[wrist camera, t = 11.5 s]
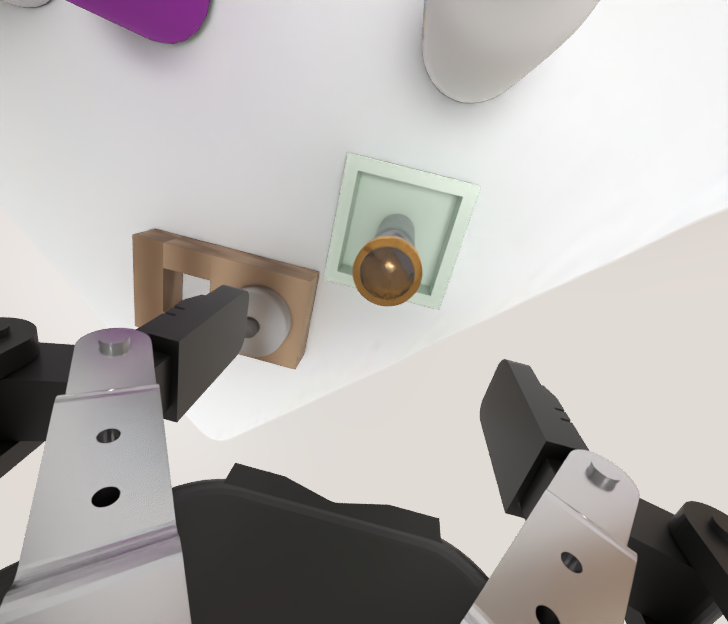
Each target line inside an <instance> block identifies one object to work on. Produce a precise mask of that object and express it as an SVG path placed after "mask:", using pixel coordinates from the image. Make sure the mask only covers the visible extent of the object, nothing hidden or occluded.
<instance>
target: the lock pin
mask: <svg viewBox="0 0 728 624" xmlns="http://www.w3.org/2000/svg"><path fill="white" fill-rule="evenodd" d="M353 280H354V283H355V286H356V288H357V290H358V291H359V292H360V294H361V295H362V296H363V297H364V298H366V299H367V300H368V301H370V302H372V303H374V304H377V305H381V306H395V305H399V304H402V303H404V302H406V301H407V300H409V299H410V298H411V297H412V296H413V295H414V294H415V293H416V292H417V290H418V288H419V287H420V284H421V281H422V262H421V258H420V255H419V253H418V251H417V250H416V248H415V230H414V225H413V223H412V221H411V220H410V219H409V218H408V217H407V216H405V215H402V214H391V215H389V216H387V217H386V218H385V219H384V220H383V221H382V222H381V224H380V226H379V228H378V230H377V233H376V235H375V237H374V238H373V239H372V240H370V241H368V242H367V243H366V244H365V245H364V246H363V247H362V248H361V250H360V251H359V253H358V255H357V256H356V259H355V261H354V264H353Z"/></svg>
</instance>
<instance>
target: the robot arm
mask: <svg viewBox="0 0 728 624" xmlns="http://www.w3.org/2000/svg"><path fill="white" fill-rule="evenodd" d="M2 1H5V2H8V3H10V4H13V5H17V6H20V7H37V6H40V5H43V4H46V3H47V2H48V1H50V0H2ZM248 305H249V293H248V291H246V290H243V289H239V288H235V287H231V286H227V285H221V286H220V287H218V288H217V289H215V290H213V291H212V292H210V293H209V294H207V295H206V296H205V295H199V296H195V297H192V298H188V299H185V300H183V301H182V302H180V303H179V304H177V305H175V307H174V308H173V307H172V308H170V309H169V310H167V311H165V314H164V313H162V314H160V315H159V316H157V317H156V318H154V319H152V320H151V321H149V322H147V323H146V324H144V325H142V326H141V327H139V328H138V329H136V330H134V329H128V328H109V329H103V330H98V331H95V332H92V333H89V334H87V335H85V336H83V337H81V338H80V339H79V340H78V341H77V342H76V344H75V345H67V344H54V343H40V342H38V336H37V329H36V326H35V325H34V324H33V323H31V322H29V321H26V320H23V319H18V318H4V317H0V478H1V477H2V476H4V475H5V474H6V473H7V472H8V471H10V470H11V469H12V468H13V467H14V466H16V465H17V464H18V463H19V462H20V461H22V460H23V459H24V458H25V457H26V456H27V455H29V454H30V453H31V452H32V451H34V450H35V449H36V448H37V447H38V446H40V445H41V444H42V443H43V442H44V441H46V443H45V447H44V451H43V456H42V461H41V465H40V470H39V474H38V479H37V483H36V488H35V492H34V497H33V502H32V506H31V511H30V515H29V520H28V524H27V529H26V533H25V538H24V542H23V547H22V551H21V556H20V560H19V561H18V562H16V563H14V564H12V565H9V566H7V567H5V568H3V569H1V570H0V624H623V623H624V619H625V621H626V623H627V624H713V623H714V622H715V621H716V620H717V619H719V618H720V617H721V616H722V615H724V616H725V618H726V619H727V621H728V515H726V514H724V513H723V512H721V511H719V510H717V509H715V508H713V507H711V506H708V505H706V504H703V503H699V502H695V501H690V502H686V503H685V504H684V505H683V506H682V507H681V508H680V510H679V511H678V512H677V513H676V514H675V515H674V514H672V513H670V512H668V511H665V510H664V509H661V508H659V507H657V506H655V505H653V504H651V503H649V502H647V501H645V500H643V499H641V498H639V495H640V494H639V491H638V488H637V486H636V485H635V483H634V482H633V480H632V479H631V478H630V477H629V476H628V475H627V474H626V473H625V472H624V471H623V470H622V469H621V468H619V467H618V466H617V465H615V464H614V463H612V462H611V461H609V460H608V459H606V458H604V457H602V456H600V455H598V454H596V453H593V452H590V451H589V449H588V448H587V446H586V444H585V443H584V441H583V440H582V438H581V436H580V435H579V433H578V432H577V430H576V428H575V427H574V425H573V423H570V419H569V417H568V415H567V414H566V412H564V409H563V407H562V406H561V404H560V403H559V401H558V399H557V398H556V397H555V396H554V395H553V394H552V393H551V392H550V391H549V390H547V389H546V388H545V387H544V386H542V385H541V384H540V383H539V381H538V379H537V377H536V375H535V374H534V372H533V370H532V369H531V367H530V366H529V365H525V364H521V363H517V362H513V361H510V360H506V359H504V360H502V361H501V362H500V363H499V365H498V367H497V369H496V371H495V374H494V376H493V378H492V380H491V383H490V385H489V387H488V389H487V391H486V394H485V396H484V398H483V400H482V403H481V408H480V421H481V425H482V429H483V432H484V436H485V440H486V444H487V447H488V451H489V455H490V458H491V462H492V466H493V470H494V473H495V477H496V481H497V484H498V488H499V492H500V496H501V499H502V503H503V507H504V510H505V513H507V514H511V515H515V516H518V517H522V518H525V520H526V522H525V523H524V525H523V527H522V528H521V530H520V531H519V533H518V534H517V536H516V538H515V539H514V541H513V542H512V544H511V546H510V547H509V549H508V550H507V552H506V553H505V555H504V557H503V558H502V560H501V561H500V563H499V564H498V566H497V567H496V569H495V571H494V572H493V574H492V575H491V577H490V578H488V577H487V576H486V575H485V573H484V572H483V571H482V570H481V569H480V568H479V567H478V566H477V565H476V564H475V563H474V562H473V561H472V560H471V559H470V558H468V557H467V556H466V555H465V554H463V553H462V552H461V551H460V550H459V549H457V548H455V547H454V546H453V545H451V544H450V543H448V542H447V541H445V540H443V539H441V537H440V523H439V518H435V517H431V516H427V515H424V514H421V513H416V512H413V511H410V510H406V509H402V508H399V507H395V506H391V505H380V504H379V505H378V504H349V503H348V504H347V503H335V502H332V501H329V500H327V499H326V498H324V497H322V496H320V495H318V494H316V493H315V492H313V491H311V490H309V489H307V488H305V487H303V486H302V485H300V484H298V483H296V482H294V481H292V480H290V479H289V478H287V477H285V476H281V475H277V474H274V473H270V472H266V471H263V470H259V469H256V468H252V467H248V466H245V465H241V464H237V463H235V464H234V466H233V468H232V469H231V471H230V473H229V475H228V476H227V478H226V479H211V480H202V481H196V482H191V483H187V484H183V485H179V486H176V487H173V488H172V486H171V478H170V470H169V462H168V454H167V445H166V437H165V429H164V420H163V419H166V420H170V421H173V422H178V421H179V419H180V418H181V417H182V416H183V415H184V414H185V413H186V412H187V411H188V409H189V408H190V407H191V406H192V405H193V404H194V403H195V402H196V401H197V399H198V398H199V397H200V396H201V395H202V394H203V393H204V392H205V390H206V389H207V388H208V387H209V386H210V385H211V384H212V383H213V382H214V380H215V379H216V378H217V377H218V376H219V375H220V374H221V373H222V372H223V370H224V369H225V368H226V367H227V366H228V365H229V364H230V363H231V361H232V360H233V359H234V358H235V357H236V356H237V355H238V353H239V352H240V350H241V348H242V345H243V343H244V339H245V332H246V323H247V314H248Z"/></svg>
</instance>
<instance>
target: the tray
mask: <svg viewBox="0 0 728 624" xmlns="http://www.w3.org/2000/svg"><path fill="white" fill-rule="evenodd" d="M480 188H481V186H479V185H476V184H472V183H468V182H464V181H460V180H456V179H452V178H448V177H444V176H440V175H436V174H432V173H428V172H425V171H421V170H417V169H413V168H409V167H405V166H401V165H397V164H393V163H389V162H385V161H381V160H377V159H373V158H369V157H365V156H361V155H357V154H352V153H347V159H346V164H345V169H344V174H343V179H342V184H341V190H340V195H339V200H338V205H337V210H336V215H335V221H334V226H333V231H332V236H331V241H330V246H329V252H328V257H327V262H326V267H325V272H324V278H323V280H327V281H331V282H334V283H338V284H342V285H346V286H350V287H353V288H356V286H355V283H354V280H353V264H354V261H355V259H356V256H357V255H358V253H359V251H360V250H361V248H362V247H363V246H364V245H365V244H366V243H367V242H368V241H370V240H372V239H373V238H374V237H375V235H376V233H377V230H378V228H379V226H380V224H381V222H382V221H383V220H384V219H385V218H386V217H387V216H389V215H391V214H402V215H405V216H407V217H408V218H409V219H410V220H411V221H412V223H413V225H414V230H415V248H416V250H417V251H418V253H419V255H420V258H421V262H422V281H421V284H420V287H419V288H418V290H417V292H416V293H415V294H414V295H413V296H412V297H411V298H410V299H409V300H407V302H410V303H414V304H418V305H422V306H426V307H429V308H433V309H437V310H439V308H440V305H441V303H442V300H443V297H444V294H445V291H446V288H447V285H448V282H449V279H450V276H451V273H452V270H453V267H454V265H455V262H456V259H457V256H458V253H459V250H460V247H461V244H462V241H463V238H464V235H465V232H466V229H467V226H468V224H469V221H470V218H471V215H472V212H473V209H474V206H475V203H476V200H477V197H478V194H479V191H480Z"/></svg>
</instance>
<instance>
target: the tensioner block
mask: <svg viewBox="0 0 728 624" xmlns="http://www.w3.org/2000/svg"><path fill="white" fill-rule="evenodd" d="M132 238H133V272H134V306H135V326H137V327H141V326H142V325H144V324H146V323H147V322H149V321H151V320H152V319H154V318H156V317H157V316H159V315H160V314H162V313H164V314H165V311H167V310H169V309H170V308H172V307H173V308H174V307H175V305H177V304H179V303H180V302H182V278H183V273H184V274H188V275H192V276H196V277H199V278H203V279H207V280H211V281H210V292H212V291H213V290H215V289H217V288H218V287H220V286H221V285H227V286H231V287H235V288H239V289H243V290H246V291H248V293H249V305H248V314H247V323H246V332H245V339H244V343H243V345H242V348H241V350H240V352H239V353H238V354H240V355H244V356H247V357H251V358H255V359H258V360H262V361H266V362H269V363H273V364H277V365H280V366H284V367H288V368H291V369H296V367H297V366H298V364H299V362H300V360H301V359H302V357H303V355H304V352H305V347H306V341H307V336H308V331H309V325H310V320H311V315H312V309H313V304H314V299H315V293H316V288H317V283H318V277H319V272H318V271H314V270H310V269H306V268H302V267H299V266H295V265H291V264H287V263H283V262H280V261H276V260H272V259H268V258H264V257H261V256H257V255H253V254H249V253H245V252H242V251H238V250H234V249H230V248H226V247H222V246H219V245H215V244H211V243H207V242H203V241H200V240H196V239H192V238H188V237H184V236H181V235H177V234H173V233H169V232H165V231H162V230H158V229H153V230H149V231H145V232H141V233H137V234H133V235H132Z"/></svg>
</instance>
